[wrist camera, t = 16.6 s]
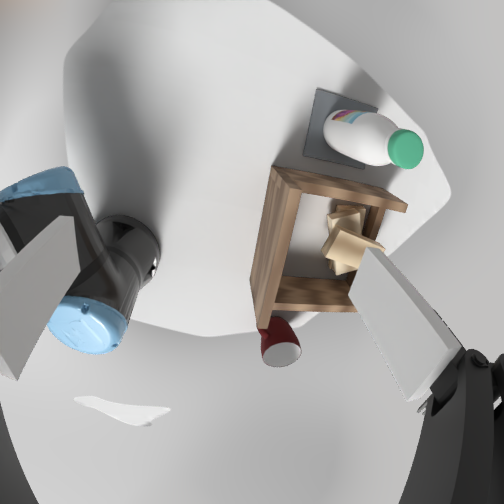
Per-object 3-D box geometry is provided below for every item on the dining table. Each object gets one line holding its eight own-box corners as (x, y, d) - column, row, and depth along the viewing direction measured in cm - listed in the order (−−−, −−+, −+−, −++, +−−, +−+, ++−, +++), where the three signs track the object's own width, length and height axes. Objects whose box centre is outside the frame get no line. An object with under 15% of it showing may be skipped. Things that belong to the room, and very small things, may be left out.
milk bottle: (356, 156, 46) (423, 190, 29) (317, 146, 45) (374, 173, 27) (366, 117, 43) (440, 131, 25) (327, 104, 41) (391, 106, 24)
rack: (249, 279, 57) (257, 328, 45) (271, 165, 46) (289, 188, 34) (349, 286, 60) (374, 329, 48) (382, 188, 50) (424, 215, 38)
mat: (302, 155, 46) (303, 155, 45) (316, 89, 40) (317, 89, 40) (363, 169, 48) (364, 169, 47) (376, 108, 42) (378, 108, 42)
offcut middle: (332, 268, 56) (336, 275, 53) (326, 214, 50) (331, 219, 47) (356, 261, 55) (361, 268, 53) (353, 207, 50) (359, 212, 47)
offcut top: (365, 266, 53) (370, 273, 51) (320, 250, 50) (325, 257, 48) (379, 243, 51) (385, 249, 49) (335, 224, 48) (340, 230, 46)
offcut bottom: (326, 263, 58) (330, 269, 56) (335, 203, 52) (340, 208, 49) (350, 261, 58) (354, 267, 56) (360, 204, 52) (366, 208, 50)
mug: (241, 321, 62) (244, 354, 53) (265, 298, 59) (272, 331, 51) (274, 339, 66) (282, 371, 57) (298, 319, 63) (309, 350, 55)
